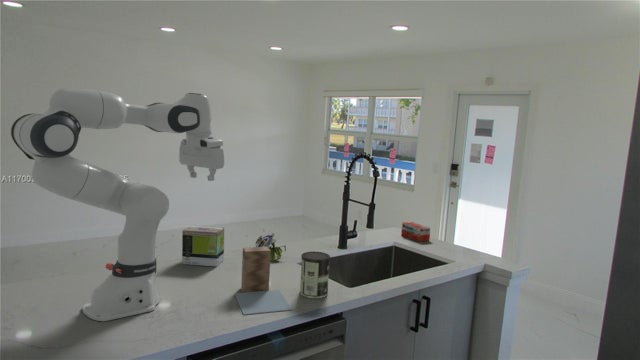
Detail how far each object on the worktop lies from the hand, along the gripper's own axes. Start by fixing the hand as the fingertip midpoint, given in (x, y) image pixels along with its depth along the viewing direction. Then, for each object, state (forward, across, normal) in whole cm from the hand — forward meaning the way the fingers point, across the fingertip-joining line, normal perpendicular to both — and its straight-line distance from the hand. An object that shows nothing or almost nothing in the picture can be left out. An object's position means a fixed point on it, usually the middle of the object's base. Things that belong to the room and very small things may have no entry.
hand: (202, 179), depth 155 cm
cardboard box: (+40, +18, +6) cm, 44 cm away
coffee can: (+42, +36, +18) cm, 58 cm away
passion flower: (+44, -4, +38) cm, 58 cm away
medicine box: (+53, +30, +123) cm, 137 cm away
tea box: (+41, -19, +13) cm, 47 cm away
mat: (+39, +28, 0) cm, 48 cm away
